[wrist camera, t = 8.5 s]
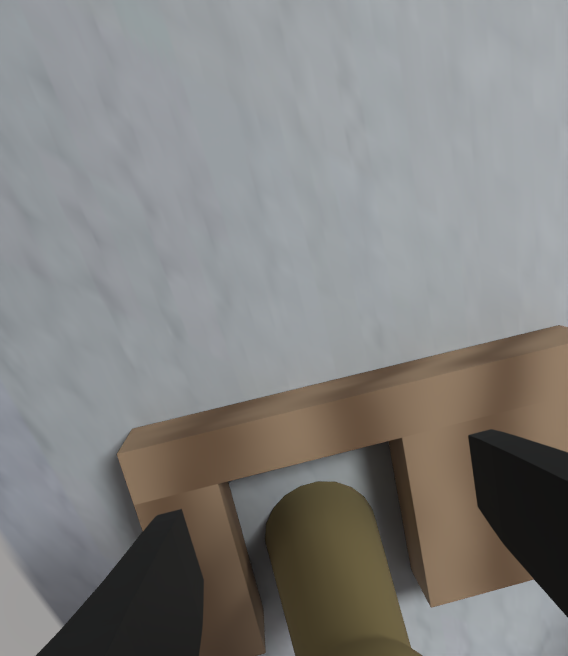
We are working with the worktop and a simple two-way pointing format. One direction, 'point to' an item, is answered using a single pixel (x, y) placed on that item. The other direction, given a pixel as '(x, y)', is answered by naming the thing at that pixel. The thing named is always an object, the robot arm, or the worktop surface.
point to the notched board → (349, 434)
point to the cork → (334, 574)
